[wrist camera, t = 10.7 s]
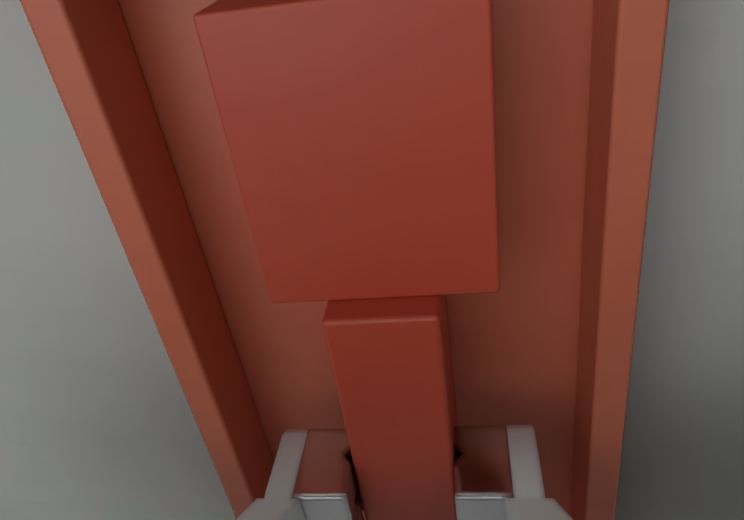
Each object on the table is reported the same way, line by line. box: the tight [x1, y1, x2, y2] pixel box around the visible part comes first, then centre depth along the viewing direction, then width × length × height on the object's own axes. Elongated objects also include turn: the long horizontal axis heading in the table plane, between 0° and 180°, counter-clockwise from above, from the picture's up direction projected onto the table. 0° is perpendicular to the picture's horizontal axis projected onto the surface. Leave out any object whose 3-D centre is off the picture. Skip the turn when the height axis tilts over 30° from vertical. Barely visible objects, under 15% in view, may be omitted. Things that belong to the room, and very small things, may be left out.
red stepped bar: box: [193, 0, 500, 520], centre depth 11 cm, size 12×4×2 cm, turn 8°
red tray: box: [20, 0, 669, 520], centre depth 12 cm, size 16×8×2 cm, turn 8°
